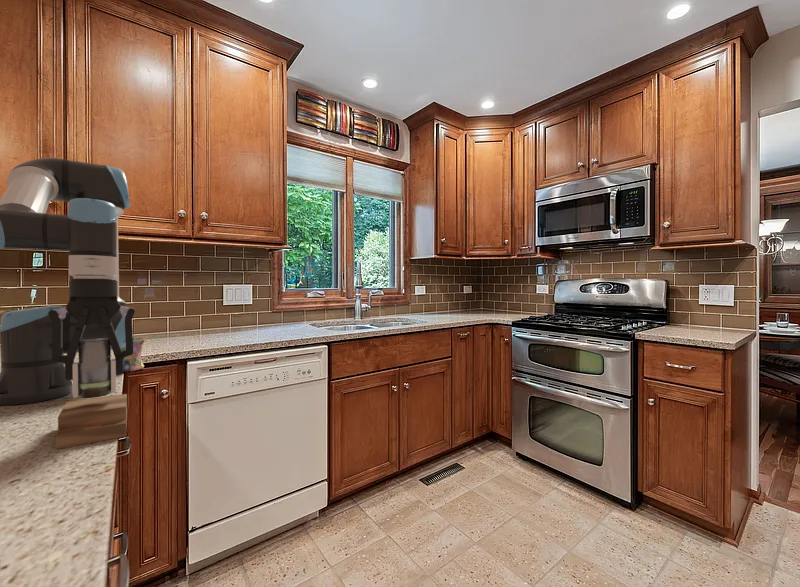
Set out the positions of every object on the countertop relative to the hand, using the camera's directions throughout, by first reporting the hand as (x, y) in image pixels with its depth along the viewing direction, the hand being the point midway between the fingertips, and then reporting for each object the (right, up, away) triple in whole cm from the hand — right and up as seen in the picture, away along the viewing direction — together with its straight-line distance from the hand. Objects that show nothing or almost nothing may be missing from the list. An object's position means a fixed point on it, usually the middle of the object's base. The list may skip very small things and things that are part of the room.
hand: (95, 393), depth 76 cm
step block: (0, -7, 0) cm, 7 cm away
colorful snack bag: (-30, -6, +52) cm, 60 cm away
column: (0, 0, 0) cm, 0 cm away
